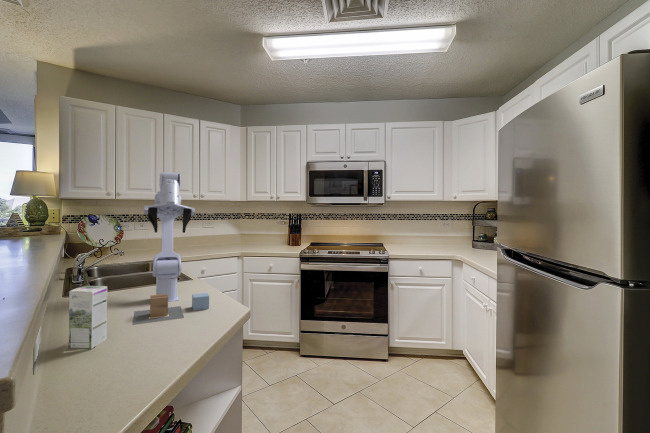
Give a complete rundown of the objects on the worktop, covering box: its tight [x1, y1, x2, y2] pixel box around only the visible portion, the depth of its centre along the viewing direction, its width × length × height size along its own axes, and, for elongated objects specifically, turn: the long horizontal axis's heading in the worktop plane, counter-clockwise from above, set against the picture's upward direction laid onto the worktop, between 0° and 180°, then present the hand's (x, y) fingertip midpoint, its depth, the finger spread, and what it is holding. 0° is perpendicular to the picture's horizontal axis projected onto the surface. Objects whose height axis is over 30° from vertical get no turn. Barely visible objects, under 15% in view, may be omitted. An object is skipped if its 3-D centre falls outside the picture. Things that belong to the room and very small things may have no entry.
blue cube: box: [191, 292, 210, 312], centre depth 108 cm, size 5×5×5 cm
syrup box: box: [68, 285, 108, 350], centre depth 77 cm, size 6×6×14 cm
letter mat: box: [132, 305, 185, 326], centre depth 99 cm, size 14×14×1 cm
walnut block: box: [149, 294, 169, 318], centre depth 99 cm, size 5×5×6 cm
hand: (170, 230), depth 93 cm, fingers open, 7 cm apart
